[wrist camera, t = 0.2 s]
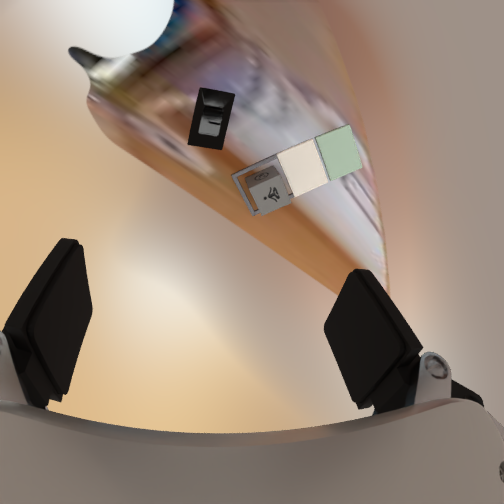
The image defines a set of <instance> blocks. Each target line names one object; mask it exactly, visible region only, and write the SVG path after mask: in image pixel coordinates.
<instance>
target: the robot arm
mask: <svg viewBox="0 0 504 504" xmlns="http://www.w3.org/2000/svg"><path fill="white" fill-rule="evenodd" d="M91 316H92V302H91V296H90V291H89V285H88V279H87V273H86V265H85V258H84V249H83V246H82V245H80V244H79V242H78V241H77V240H75V239H67V238H61V239H60V240H59V242H58V243H57V244H56V246H55V247H54V248H53V250H52V251H51V252H50V254H49V255H48V257H47V258H46V259H45V261H44V262H43V264H42V265H41V266H40V268H39V269H38V271H37V272H36V274H35V275H34V277H33V278H32V280H31V281H30V283H29V284H28V286H27V288H26V289H25V291H24V292H23V294H22V295H21V297H20V299H19V300H18V302H17V304H16V305H15V307H14V309H13V311H12V312H11V314H10V316H9V318H8V320H7V321H6V323H5V326H4V329H3V330H2V332H1V331H0V504H504V427H503V426H502V425H501V424H500V423H499V422H498V421H497V420H496V419H495V418H494V417H493V416H492V415H491V414H490V413H489V412H487V411H486V410H485V408H484V405H483V400H482V398H481V397H480V396H479V395H478V394H476V393H475V392H473V391H471V390H469V389H467V388H466V387H464V386H462V385H460V384H459V383H457V382H455V381H453V380H452V379H451V369H450V367H449V365H448V363H447V362H446V360H444V359H443V358H442V357H441V356H439V355H438V354H436V353H433V352H426V353H424V354H423V355H422V356H421V357H420V356H419V352H420V351H421V350H422V349H423V346H422V345H421V343H420V342H419V340H418V338H417V337H416V335H415V334H414V333H413V331H412V329H411V328H410V326H409V325H408V323H407V322H406V320H405V319H404V317H403V316H402V314H401V313H400V311H399V310H398V308H397V307H396V306H395V304H394V303H393V301H392V300H391V298H390V297H389V296H388V294H387V293H386V291H385V290H384V289H383V287H382V286H381V284H380V283H379V282H378V280H377V279H376V278H375V276H374V275H373V274H372V272H371V271H370V270H365V269H354V270H353V272H351V273H349V275H348V277H347V279H346V281H345V283H344V285H343V287H342V289H341V292H340V294H339V296H338V298H337V300H336V302H335V304H334V306H333V308H332V310H331V312H330V314H329V316H328V318H327V320H326V322H325V324H324V333H325V335H326V337H327V340H328V342H329V345H330V347H331V349H332V352H333V354H334V357H335V359H336V361H337V364H338V366H339V369H340V371H341V374H342V376H343V379H344V381H345V384H346V386H347V389H348V391H349V394H350V396H351V399H352V401H353V402H355V403H356V404H357V407H358V409H364V408H369V407H371V406H372V405H373V406H374V408H375V409H374V412H373V415H372V416H369V417H364V418H360V419H355V420H350V421H345V422H340V423H334V424H329V425H322V426H315V427H308V428H301V429H293V430H282V431H271V432H256V433H229V434H228V433H227V434H226V433H224V434H220V433H219V434H218V433H217V434H215V433H184V432H183V433H182V432H169V431H157V430H148V429H139V428H132V427H125V426H118V425H113V424H107V423H101V422H96V421H91V420H85V419H81V418H77V417H72V416H68V415H63V414H60V413H56V412H52V411H49V410H48V408H47V405H48V403H49V399H51V400H55V401H58V402H61V401H62V396H63V394H65V395H66V394H67V393H68V390H69V386H70V383H71V379H72V375H73V372H74V368H75V365H76V361H77V358H78V355H79V352H80V348H81V345H82V342H83V339H84V336H85V333H86V330H87V327H88V324H89V322H90V319H91Z"/></svg>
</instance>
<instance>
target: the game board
mask: <svg viewBox="0 0 504 504" xmlns="http://www.w3.org/2000/svg"><path fill="white" fill-rule="evenodd" d="M315 139H316V142H317V145H318V147H319V150H320V153H321V155H322V158H323V161H324V164H325V167H326V170H327V173H328V175H329V178H330V180H331V181H332V180H335V179H337V178H339V177H342V176H344V175H346V174H348V173H351V172H353V171H355V170H358V169H360V168H362V164H361V161H360V157H359V154H358V150H357V147H356V144H355V140H354V137H353V134H352V131H351V128H350V125H349V124H348V125H345V126H342V127H340V128H337V129H334V130H332V131H329V132H327V133H324V134H322V135H319V136H317V137H315ZM276 158H278V160H279V162H280V164H281V167H282V169H283V171H284V173H285V176H286V178H287V180H288V183H289V185H290V188H291V190H292V192H293V193H292V194H290V195H289V198H290V199H291V198H293V197H297V196H299V195H301V194H303V193H305V192H308V191H310V190H312V189H314V188H317V187H319V186H321V185H323V184H326V183H328V180H327V177H326V174H325V171H324V169H323V166H322V163H321V160H320V157H319V155H318V152H317V149H316V147H315V144H314V141H313V139H310V140H307V141H305V142H302V143H300V144H298V145H295V146H293V147H291V148H288V149H286V150H284V151H282V152H279V153H277V154H275V155H273V156H270V157H268V158H266V159H264V160H262V161H259V162H257V163H255V164H253V165H251V166H249V167H247V168H244V169H242V170H240V171H238V172H236V173H234V174H232V175H231V176H232V178H233V180H234V182H235V184H236V185H237V187H238V189H239V191H240V193H241V195H242V197H243V199H244V201H245V203H246V205H247V206H248V208H249V210H250V212H251V214H252V216H254V215H256V214H259V213H260V211H259V209H257V210H255V211H254V210H253V208H252V206H251V204H250V202H249V200H248V198H247V196H246V194H245V192H244V191H243V189H242V187H241V185H240V183H239V181H238V179H237V177H238V176H240V175H242V174H244V173H246V172H248V171H250V170H252V169H255V168H257V167H259V166H261V165H263V164H265V163H268V162H270V161H272V160H274V159H276Z"/></svg>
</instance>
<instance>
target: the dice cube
mask: <svg viewBox="0 0 504 504" xmlns="http://www.w3.org/2000/svg"><path fill="white" fill-rule="evenodd" d="M245 180H246V182H247V185H248V188H249V190H250V192H251V194H252V196H253V198H254V201H255V203H256V205H257V207H258V209H259V211H260V213H261V215H262V216H263V215H265V214H267V213H269V212H272V211H274V210H276V209H278V208H281V207H283V206H285V205H288V204H290V203H291V200H290V198H289V195H288V193H287V190H286V188H285V185H284V183H283V181H282V178H281V176H280V174H279V173H278V171H277V170H276V169H275V167H274V166H271V167H269V168H266V169H264V170H262V171H259V172H257V173H255V174H253V175H251V176H248V177H246V178H245Z"/></svg>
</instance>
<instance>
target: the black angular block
mask: <svg viewBox="0 0 504 504" xmlns="http://www.w3.org/2000/svg"><path fill="white" fill-rule="evenodd" d="M234 97H235V94H233V93H228V92H223V91H218V90H213V89H207V88H200V89H199V93H198V97H197V101H196V106H195V110H194V115H193V120H192V124H191V129H190V134H189V139H188V145H192V146H199V147H205V148H212V149H218V150H222V148H223V144H224V139H225V135H226V131H227V126H228V122H229V118H230V114H231V110H232V105H233V101H234Z"/></svg>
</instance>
